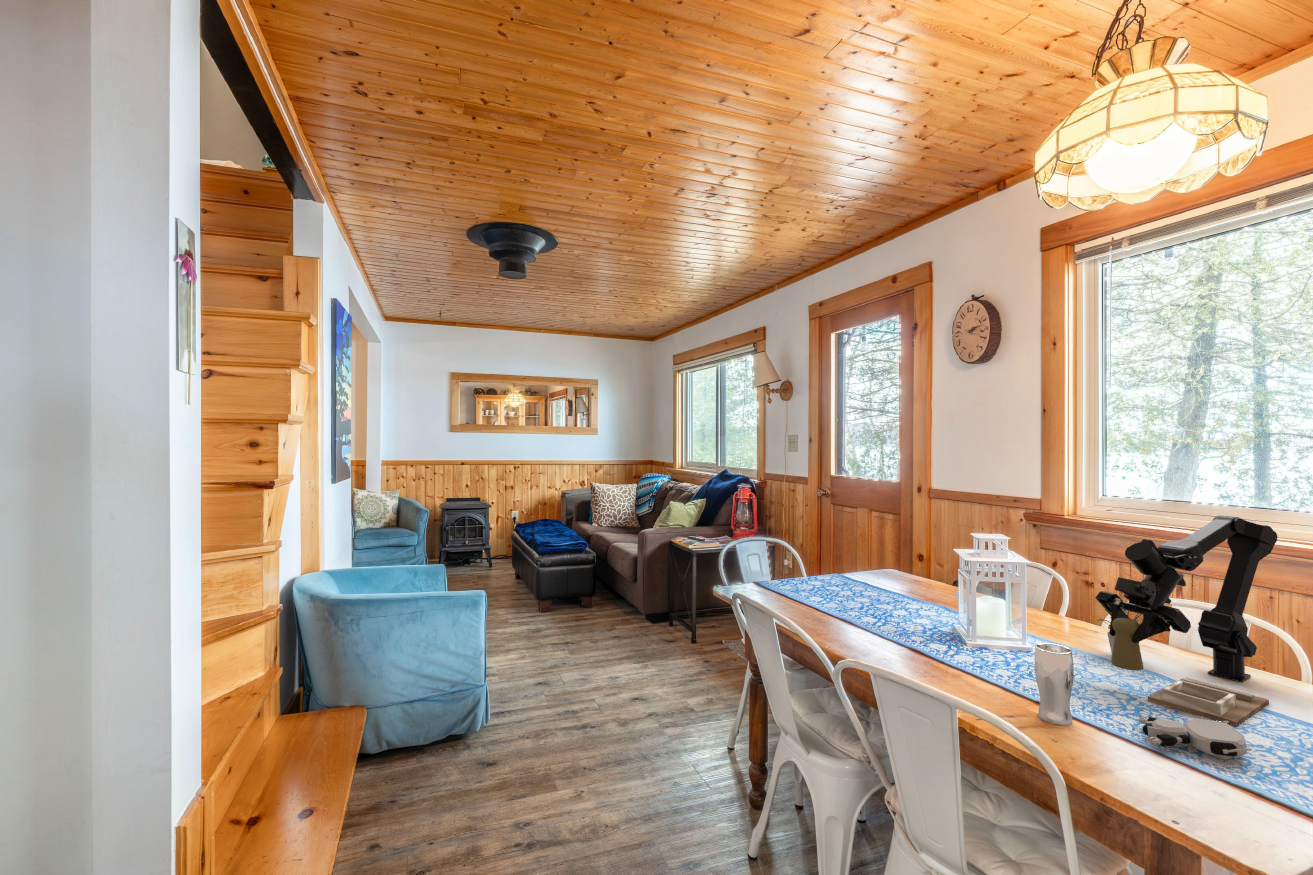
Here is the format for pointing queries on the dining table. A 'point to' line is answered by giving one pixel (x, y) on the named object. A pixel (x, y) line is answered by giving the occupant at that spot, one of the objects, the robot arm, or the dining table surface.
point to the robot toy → (1197, 736)
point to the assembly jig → (1209, 700)
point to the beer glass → (1054, 682)
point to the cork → (1126, 645)
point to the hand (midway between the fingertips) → (1121, 638)
